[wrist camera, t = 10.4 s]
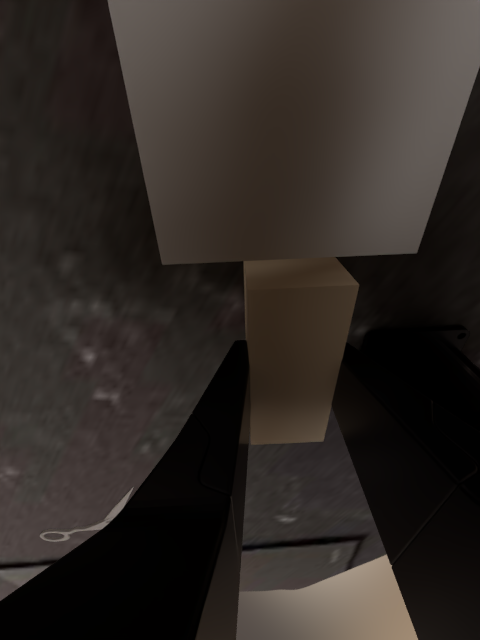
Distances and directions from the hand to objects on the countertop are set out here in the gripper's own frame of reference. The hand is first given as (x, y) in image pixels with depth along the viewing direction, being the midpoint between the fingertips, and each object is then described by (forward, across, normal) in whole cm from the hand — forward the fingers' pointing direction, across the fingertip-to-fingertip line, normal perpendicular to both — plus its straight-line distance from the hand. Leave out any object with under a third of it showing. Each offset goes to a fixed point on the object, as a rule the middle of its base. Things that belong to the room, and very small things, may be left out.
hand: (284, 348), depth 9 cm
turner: (+1, 0, -3) cm, 3 cm away
